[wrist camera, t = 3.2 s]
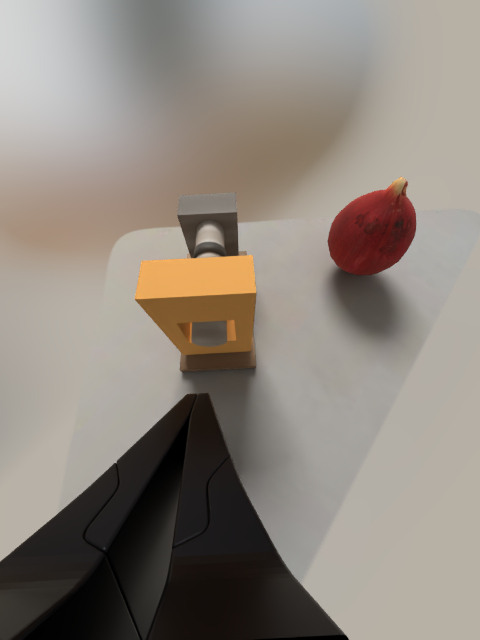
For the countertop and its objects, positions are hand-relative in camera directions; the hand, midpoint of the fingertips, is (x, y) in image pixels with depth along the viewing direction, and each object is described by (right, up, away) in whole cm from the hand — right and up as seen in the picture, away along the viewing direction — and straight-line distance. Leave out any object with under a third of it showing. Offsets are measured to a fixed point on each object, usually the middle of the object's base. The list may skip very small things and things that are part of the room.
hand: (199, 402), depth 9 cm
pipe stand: (0, +4, +11) cm, 11 cm away
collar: (0, +2, +8) cm, 8 cm away
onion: (+12, +8, +12) cm, 19 cm away
